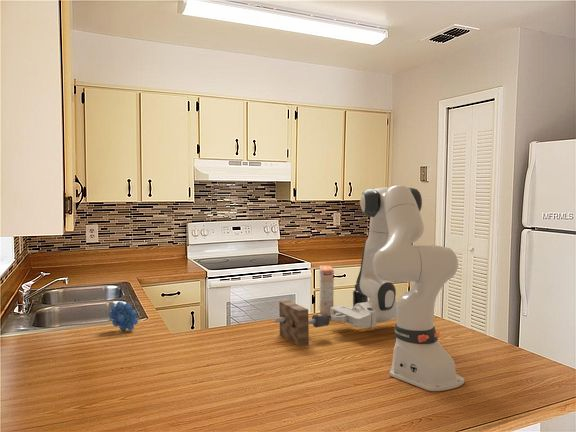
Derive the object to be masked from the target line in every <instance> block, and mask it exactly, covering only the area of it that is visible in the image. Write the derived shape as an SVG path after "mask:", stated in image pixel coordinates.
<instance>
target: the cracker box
mask: <svg viewBox="0 0 576 432" xmlns="http://www.w3.org/2000/svg"><path fill="white" fill-rule="evenodd" d="M334 274H335V270H334V269H333V266H332V265H319V312H320V313H319V314H324V313H326V314H328V316H329V317H331V315H330V308H331V307H334V285H335V284H334V283H335V282H334V280H335V279H334V277H335V275H334Z"/></svg>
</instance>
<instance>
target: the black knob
mask: <svg viewBox="0 0 576 432" xmlns="http://www.w3.org/2000/svg"><path fill="white" fill-rule="evenodd" d="M308 323H309V325H312V326H313V327H314V328H321V327H326V326H327V327H328V326H329V325H330V316H328V314H326V313H324V314H321V313H318V314H313V315H312V316H311V319H310V318H309V319H308ZM295 326H296V322H295Z"/></svg>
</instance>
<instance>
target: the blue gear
mask: <svg viewBox="0 0 576 432" xmlns="http://www.w3.org/2000/svg"><path fill="white" fill-rule="evenodd" d="M132 307H133V306H132V304H131V303H128V302H127V303H124V302H123V301H117V302H116V305H115V304H112V305H111V306H110V312H109V313H108V317H109V319H110V320H112V321H111V323H112V326H113V327H116V328H117V327H118V328H119V329H120V330H121V331H122V332H124V331H127V330H129V331H132V330H134V328H135V326H136V325H137V324H138V323H139V319H138V318H137V316H138V312H137V310H136V309H134V308H133V309H132Z"/></svg>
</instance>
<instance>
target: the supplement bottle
mask: <svg viewBox="0 0 576 432" xmlns="http://www.w3.org/2000/svg"><path fill="white" fill-rule="evenodd" d="M368 298H369V297H367V296H365V295H363V294H361V293H359V292H358V290H357V287H356V284H354V290H353V291H352V306H353V307H354V305H355V304H357V303H363V302H369V299H368ZM353 307H352V308H353Z"/></svg>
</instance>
